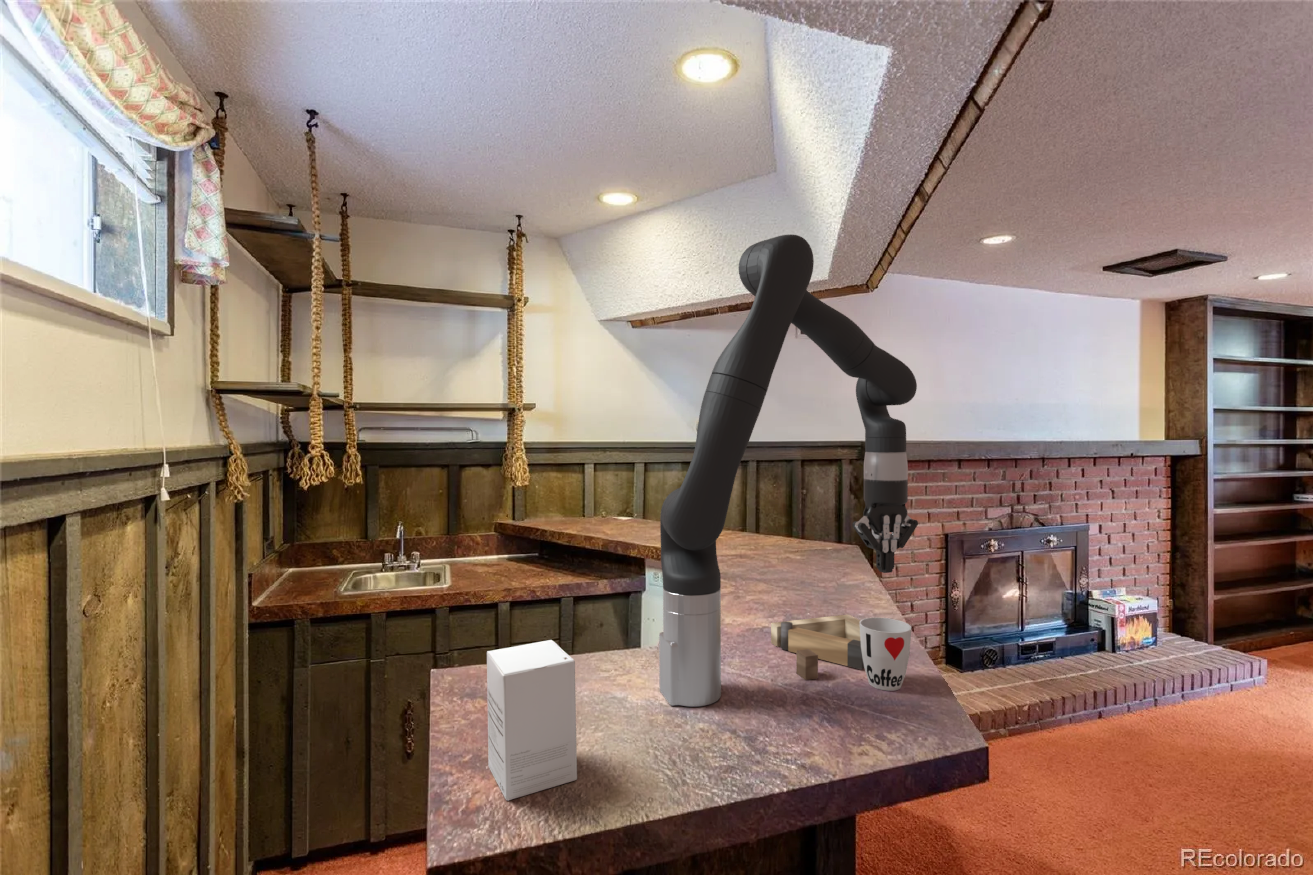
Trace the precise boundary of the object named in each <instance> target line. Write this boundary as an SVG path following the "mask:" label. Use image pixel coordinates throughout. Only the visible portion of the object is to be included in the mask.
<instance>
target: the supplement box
mask: <svg viewBox="0 0 1313 875" xmlns="http://www.w3.org/2000/svg"><path fill="white" fill-rule="evenodd" d="M486 680H487V681H486V685H487V686H486V687H487V690H486V691H487V695H486V696H487V698H486V699H487V740H488V741H487V744H488V745H487V746H488V748H487V750H488V752H487V753H488V754H487V756H488V760H487V761H488V764H487V765H488V768H489V770H490V773H491V774H492V776H493V778H494V779H495V782H496V784H497V785H498V787H499V789H500V791H501V793H502V795H503V797H504V799H505V801H511V800H514V799H517V798H521V797H525V796H527V795H531V794H534V793H537V792H541V791H543V790H548V789H550V788H551V789H552V788H554V787H558V786H560V785H563V784H568V783H571V782H574V781H576V780H577V779H578V765H577V764H578V762H577V761H578V760H577V759H578V758H577V756H578V755H577V710H576V709H577V708H576V699H577V698H576V661H575V659H574V658H573V657H571V656H570V655H569V654H568V653H567V652H566V651H564V650H563V649H562V648H561V647H560V645H559V644H557V642H555V641H554V640H552V639H548V640H543V641H536V642H532V643H526V644H519V645H514V646H511V647H503V648H499V649H493V650H487V651H486Z"/></svg>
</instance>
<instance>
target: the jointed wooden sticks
mask: <svg viewBox="0 0 1313 875" xmlns="http://www.w3.org/2000/svg"><path fill="white" fill-rule="evenodd" d="M861 620H862V619H858V618H857V617H854V616H853V615H850V614H839V615H831V616H821V617H813V618H803V619H794V620H786V621H783V622H791V623H793V627H797V628H802V629H806V630H811V631H815V632H819V633H824V634H828V635H833V636H837V637H842V638H846V639H851V640H853V639H854V640H858V641H861V640H860V623H859V622H860V621H861ZM781 622H782V621H776V622H771V623H770V644H772V645H773V646H775V647H776V646H777V647H776V648H781ZM795 654H796V655H795V656H796V660H795V661H796V662H795V663H796V668H795V670H796V674H797V675H798V676H799V677H800V678H802V679H803V680H805V681H808V680H816V679H819V659H818V655H817V654H816V653H814V652H812V651H811V650H809V649H805V650H797V651H796V653H795Z"/></svg>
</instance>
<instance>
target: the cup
mask: <svg viewBox="0 0 1313 875" xmlns="http://www.w3.org/2000/svg"><path fill="white" fill-rule="evenodd" d="M860 620H861V621H860V622H859V623H860V640H861V651H862V657H863V663H864V668H863V669H864V671H865V672H864V673H865V674H866V675H865V676H866V678H867V682H868V684H869V685H870V687H872V688H874V689H877V690H881V691H888V692H890V691H892V692H893V691H894V692H895V691H897V690H901V688H902V686H903V683H904V680H905V676H906V674H907V670H908V664H909V659H910V653H911V640H912V625H910V624H909V623H908V622H905V621H903V620H900V619H894V618H889V617H879V616H878V617H876V616H875V617H867V618H866V617H865V618H861V619H860Z"/></svg>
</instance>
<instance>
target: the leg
mask: <svg viewBox="0 0 1313 875" xmlns="http://www.w3.org/2000/svg"><path fill="white" fill-rule="evenodd" d="M780 622H781V647H780V649H782V650H783V651H788V652H789V653H795V654H796V651H797V650H805V649H809V650H811V651H812V652H814V653H816V654H817V655H818V660H821V661H825V662H826V661H827V662H830V663H834V664H838V665H843V666H845V667H848V668H849V667H850V668H853V669H857V670H861V671H862V670H864V669H865V668H864V663H863V657H862V651H861V641H858V640H854V639H853V640H851V639H846V638H842V637H837V636H833V635H828V634H824V633H819V632H815V631H811V630H806V629H802V628H797V627H793V623H791V622H784V621H780Z"/></svg>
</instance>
